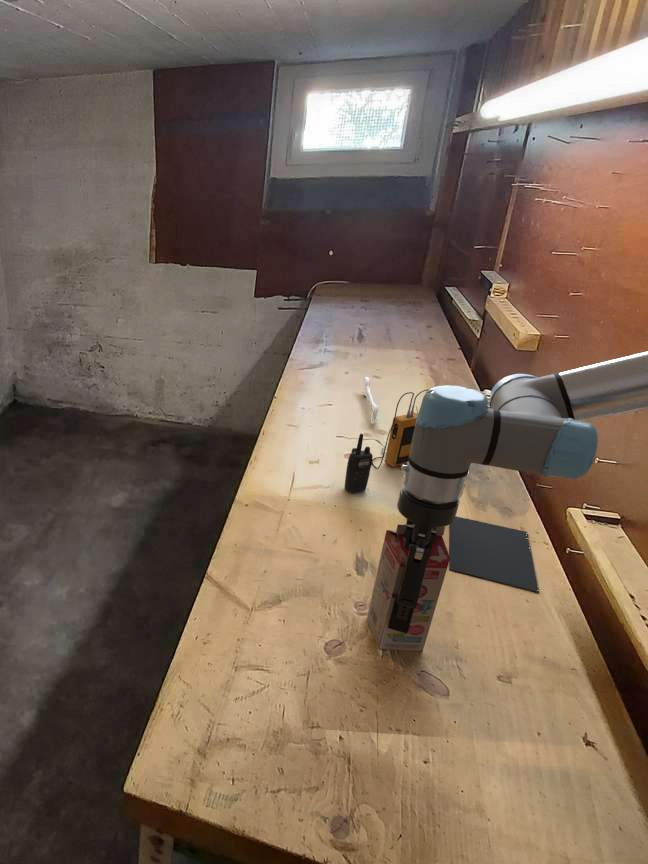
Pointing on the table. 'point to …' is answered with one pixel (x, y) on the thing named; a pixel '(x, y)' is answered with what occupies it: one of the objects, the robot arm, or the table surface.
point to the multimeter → (400, 437)
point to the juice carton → (389, 583)
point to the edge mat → (491, 553)
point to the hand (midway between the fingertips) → (399, 610)
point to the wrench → (370, 399)
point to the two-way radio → (358, 468)
